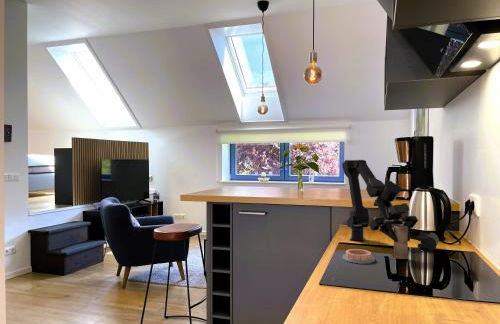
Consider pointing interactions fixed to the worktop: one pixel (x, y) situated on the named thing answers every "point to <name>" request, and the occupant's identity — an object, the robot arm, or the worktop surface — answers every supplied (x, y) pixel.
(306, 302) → the worktop surface
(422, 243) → the end cap
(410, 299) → the worktop surface
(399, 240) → the walnut peg
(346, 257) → the collar
